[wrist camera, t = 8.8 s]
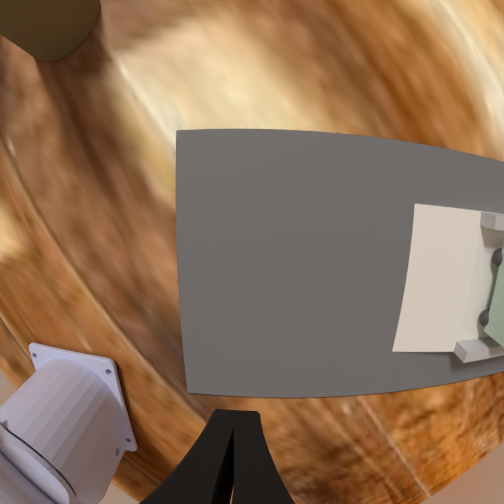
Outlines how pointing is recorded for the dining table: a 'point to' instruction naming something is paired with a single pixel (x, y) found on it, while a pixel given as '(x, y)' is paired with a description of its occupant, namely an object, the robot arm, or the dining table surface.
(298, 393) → the dock
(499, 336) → the cart
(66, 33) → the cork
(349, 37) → the dining table surface
